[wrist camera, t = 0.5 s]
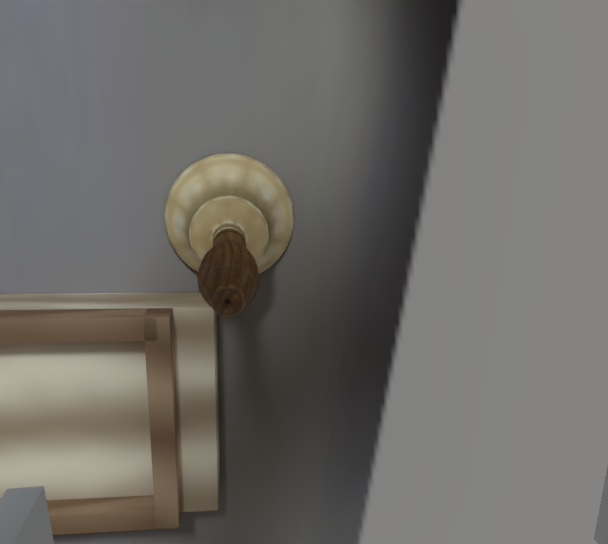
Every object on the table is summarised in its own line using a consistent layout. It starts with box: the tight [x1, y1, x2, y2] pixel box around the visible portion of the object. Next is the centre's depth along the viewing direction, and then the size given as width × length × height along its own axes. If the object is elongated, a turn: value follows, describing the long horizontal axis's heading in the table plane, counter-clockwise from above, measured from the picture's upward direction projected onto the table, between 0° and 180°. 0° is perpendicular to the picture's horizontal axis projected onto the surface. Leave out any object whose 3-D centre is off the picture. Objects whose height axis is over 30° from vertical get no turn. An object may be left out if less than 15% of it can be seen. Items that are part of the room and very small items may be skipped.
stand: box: [0, 292, 220, 535], centre depth 36 cm, size 15×20×4 cm
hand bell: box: [164, 153, 294, 317], centre depth 28 cm, size 8×8×16 cm
